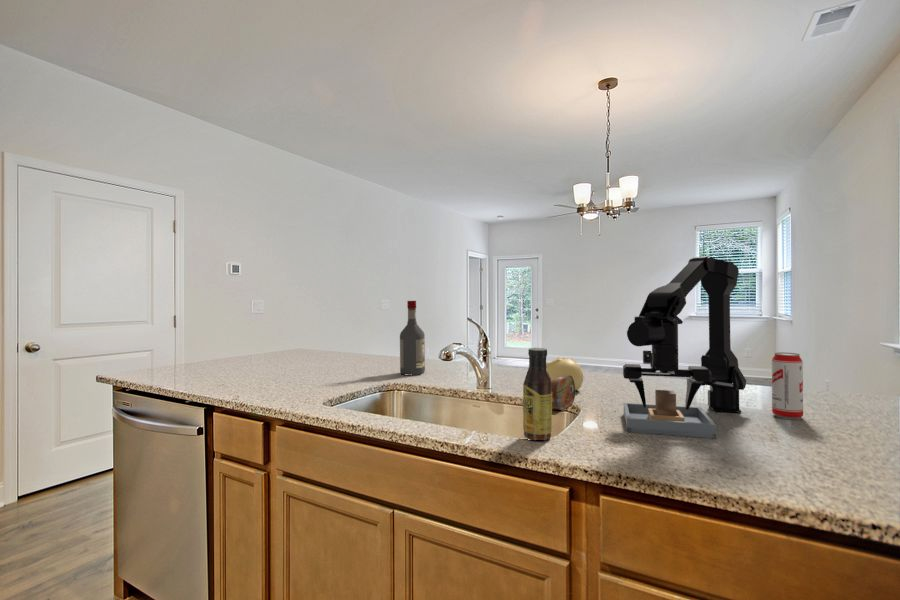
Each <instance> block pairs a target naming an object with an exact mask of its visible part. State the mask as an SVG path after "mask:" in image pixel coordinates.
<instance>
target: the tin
mask: <svg viewBox="0 0 900 600" xmlns="http://www.w3.org/2000/svg"><path fill="white" fill-rule="evenodd" d="M551 391H552V410H556V411H565V410H566V409H567V408H568V407H571V406H572V405H573V404H574V401H575V397H576V390H575V384H574V380H573V378H572V376H570V375H569V376H561V377H559V378H557V379H555V380H553V381H552V384H551Z"/></svg>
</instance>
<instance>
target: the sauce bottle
mask: <svg viewBox="0 0 900 600" xmlns="http://www.w3.org/2000/svg"><path fill="white" fill-rule="evenodd" d="M528 356H529V358H528V359H529V361H528V368H527V372H526V376H525V378H524V381H523V385H522V386H523V387H522V388H523V389H522V390H523V396H522V397H523V398H522V399H523V400H522V402H523V403H522V406H523V407H522V409H523V411H522V412H523V414H522V415H523V416H522V417H523V418H522V421H523V423H522V425H523V426H522V427H523V428H522V430H523V436H524V438H526V439H528V440H530V441H532V440H544V441H548V440H550V439H551V438H552V431H553V430H552V429H553V428H552V427H553V416H552V415H553V409H552V391H551V384H552V382H551V378H550V376H549V374H548V372H547V371H546V368H547V366H546V364H547V357H548V349H547V348H544V347H531V348H528ZM547 439H548V440H547Z"/></svg>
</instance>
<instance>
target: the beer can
mask: <svg viewBox="0 0 900 600" xmlns="http://www.w3.org/2000/svg"><path fill="white" fill-rule="evenodd" d="M800 356H801V354H800V353H795V352H783V351H782V352H779V351H778V352H774V355H773V358H772V359H771V411H772V414H773V415H774V416H775V417H777V418H779V419H784V420H791V421H793V420H796V421H797V420H800V419H802V418H803V416H804V363H803V360H802V358H801V357H800Z"/></svg>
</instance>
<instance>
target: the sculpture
mask: <svg viewBox="0 0 900 600" xmlns="http://www.w3.org/2000/svg"><path fill="white" fill-rule="evenodd" d="M546 366H547V368H546V371H547V372H548V374H549V376H550V378H551V382H552V381H553V380H555V379H557V378H559V377H561V376H569V375H570V376H572V378H573V380H574V384H575V391H578V390H579V389H580V388H581V387H582V386H583V382H584V371H583V370H582V368H581V365H579V364H578V363H577V361H576V360H574V359H573V358H568V357H557V358H556V359H554V360H552V361H548V362H546Z"/></svg>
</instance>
